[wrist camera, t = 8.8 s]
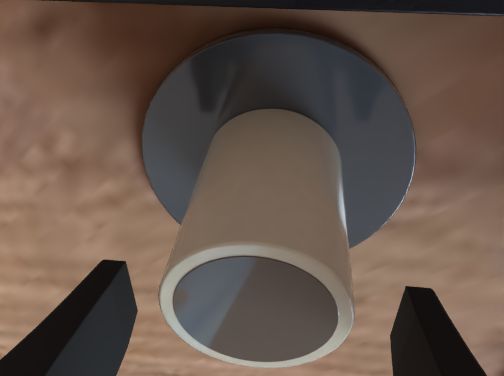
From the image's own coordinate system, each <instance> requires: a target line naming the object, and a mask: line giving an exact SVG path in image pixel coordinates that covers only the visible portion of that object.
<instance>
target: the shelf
mask: <svg viewBox="0 0 504 376" xmlns="http://www.w3.org/2000/svg"><path fill="white" fill-rule="evenodd" d="M43 1H72V2H102V3H131V4H160V5H189V6H219V7H248V8H277V9H306V10H335V11H365V12H394V13H423V14H452V15H481V16H504V0H43Z"/></svg>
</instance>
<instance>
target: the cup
mask: <svg viewBox="0 0 504 376" xmlns="http://www.w3.org/2000/svg"><path fill="white" fill-rule="evenodd" d="M158 296H159V305H160V308H161V312H162V314H163V316H164V318H165V320H166V322H167V323H168V325H169V326H170V328H171V329H172V330H173V331H174V332H175V333H176V334H177V335H178V336H179V337H180V338H181V339H182V340H184V341H185V342H186V343H188V344H189V345H191V346H192V347H194V348H195V349H197V350H199V351H201V352H203V353H205V354H207V355H209V356H211V357H214V358H216V359H219V360H222V361H225V362H229V363H232V364H237V365H242V366H249V367H258V368H281V367H290V366H296V365H301V364H305V363H308V362H311V361H314V360H317V359H319V358H321V357H323V356H325V355H327V354H328V353H330V352H332V351H333V350H335V349H336V348H337V347H338V346H339V345H340V344H341V343H342V342H343V341H344V340H345V339H346V337H347V336H348V334H349V332H350V330H351V328H352V325H353V322H354V317H355V306H354V295H353V284H352V273H351V262H350V251H349V240H348V229H347V218H346V207H345V196H344V185H343V174H342V163H341V157H340V153H339V150H338V148H337V146H336V144H335V142H334V141H333V139H332V137H331V136H330V135H329V134H328V133H327V131H326V130H324V129H323V128H322V127H321V126H320V125H319V124H317V123H316V122H314V121H313V120H311V119H310V118H308V117H306V116H304V115H301V114H299V113H296V112H293V111H288V110H283V109H258V110H253V111H249V112H246V113H243V114H241V115H238V116H236V117H235V118H233V119H231V120H229V121H228V122H227V123H225V124H224V125H223V126H222V127H221V128H220V129H219V130H218V131H217V132H216V134H215V135H214V136H213V138H212V140H211V142H210V144H209V146H208V149H207V152H206V155H205V157H204V160H203V163H202V166H201V169H200V172H199V175H198V177H197V180H196V183H195V186H194V189H193V192H192V195H191V197H190V200H189V203H188V206H187V209H186V212H185V214H184V217H183V220H182V223H181V226H180V229H179V232H178V234H177V237H176V240H175V243H174V246H173V249H172V251H171V254H170V257H169V260H168V263H167V266H166V269H165V271H164V274H163V277H162V280H161V283H160V286H159V294H158Z"/></svg>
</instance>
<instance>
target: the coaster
mask: <svg viewBox="0 0 504 376" xmlns="http://www.w3.org/2000/svg"><path fill="white" fill-rule="evenodd" d="M258 109H283V110H288V111H293V112H296V113H299V114H301V115H304V116H306V117H308V118H310V119H311V120H313V121H314V122H316V123H317V124H319V125H320V126H321V127H322V128H323V129H324V130H326V131H327V133H328V134H329V135H330V136H331V137H332V139H333V141H334V142H335V144H336V146H337V148H338V150H339V153H340V157H341V163H342V174H343V185H344V196H345V207H346V218H347V229H348V240H349V248H351V247H354V246H356V245H358V244H359V243H361V242H362V241H364V240H366V239H367V238H369V237H370V236H371V235H373V234H374V233H375V232H376V231H378V230H379V229H380V228H381V227H382V226H383V225H384V224H385V223H386V222H387V221H388V220H389V219H390V218H391V217H392V216H393V214H394V213H395V212H396V210H397V209H398V208H399V206H400V205H401V203H402V201H403V199H404V197H405V195H406V194H407V192H408V189H409V186H410V184H411V181H412V178H413V174H414V168H415V163H416V142H415V134H414V129H413V126H412V122H411V119H410V116H409V113H408V110H407V108H406V106H405V104H404V102H403V100H402V98H401V96H400V94H399V92H398V91H397V89H396V88H395V86H394V85H393V84H392V82H391V81H390V80H389V78H388V77H387V76H386V75H385V74H384V73H383V72H382V71H381V70H380V69H379V68H378V67H377V66H376V65H375V64H374V63H373V62H371V61H370V60H369V59H367V58H366V57H365V56H363V55H362V54H361V53H359V52H358V51H356V50H354V49H352V48H350V47H349V46H347V45H345V44H343V43H341V42H339V41H336V40H334V39H331V38H328V37H326V36H323V35H320V34H316V33H311V32H307V31H303V30H295V29H286V28H262V29H254V30H248V31H242V32H237V33H234V34H231V35H228V36H224V37H221V38H219V39H216V40H214V41H212V42H210V43H208V44H206V45H204V46H202V47H200V48H199V49H197V50H196V51H194V52H193V53H191V54H190V55H188V56H187V57H186V58H184V59H183V60H182V61H181V62H180V63H179V64H178V65H177V66H175V67H174V68H173V69H172V71H171V72H170V73H169V74H168V76H167V77H166V78H165V79H164V80H163V82H162V83H161V85H160V86H159V88H158V90H157V91H156V93H155V95H154V97H153V98H152V100H151V102H150V105H149V108H148V110H147V113H146V115H145V120H144V125H143V129H142V155H143V162H144V166H145V170H146V174H147V177H148V179H149V182H150V184H151V187H152V189H153V190H154V192H155V194H156V196H157V197H158V199H159V201H160V202H161V203H162V205H163V206H164V208H165V209H166V210H167V212H168V213H169V214H170V215H171V216H172V217H173V218H174V219H175V220H176V221H177V222H178V223H179V224H180V225H181V223H182V220H183V217H184V214H185V212H186V209H187V206H188V203H189V200H190V197H191V195H192V192H193V189H194V186H195V183H196V180H197V177H198V175H199V172H200V169H201V166H202V163H203V160H204V157H205V155H206V152H207V149H208V146H209V144H210V142H211V140H212V138H213V136H214V135H215V134H216V132H217V131H218V130H219V129H220V128H221V127H222V126H223V125H224V124H225V123H227V122H228V121H229V120H231V119H233V118H235V117H236V116H238V115H241V114H243V113H246V112H249V111H253V110H258Z"/></svg>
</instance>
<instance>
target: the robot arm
mask: <svg viewBox="0 0 504 376" xmlns="http://www.w3.org/2000/svg"><path fill="white" fill-rule="evenodd" d="M137 311H138V310H137V306H136V302H135V298H134V293H133V289H132V285H131V281H130V277H129V273H128V269H127V264H126V261H115V260H102V261H101V262H100V263H99V264H98V265H97V266H96V267H95V268H94V269H93V270H92V271H91V272H90V273H89V274H88V276H87V277H86V278H85V279H84V280H83V281H82V282H81V283H80V284H79V285H78V286H77V287H76V288H75V289H74V290H73V291H72V292H71V293H70V294H69V295H68V296H67V297H66V298H65V299H64V300H63V301H62V302H61V303H60V304H59V305H58V306H57V307H56V308H55V309H54V310H53V311H52V312H51V313H50V314H49V315H48V316H47V317H46V318H45V319H44V320H43V321H42V322H41V323H40V324H39V325H38V326H37V327H36V328H35V329H34V330H33V331H32V332H31V333H30V334H28V335H27V336H26V337H25V338H24V339H23V340H22V341H21V342H20V343H19V344H17V345H16V346H15V347H14V348H13V349H12V350H11V351H10V352H9V353H8V354H6V355H5V356H4V357H3V358H2V359H1V360H0V376H116V375H117V372H118V370H119V367H120V365H121V362H122V360H123V357H124V355H125V352H126V350H127V347H128V344H129V340H130V337H131V334H132V330H133V326H134V323H135V319H136V315H137ZM390 340H391V354H392V366H393V376H487V375H486V374H485V372H484V371H483V369H482V368H481V366H480V365H479V363H478V362H477V360H476V359H475V357H474V356H473V354H472V353H471V351H470V350H469V348H468V347H467V345H466V344H465V342H464V340H463V339H462V337H461V336H460V334H459V332H458V331H457V329H456V328H455V326H454V324H453V323H452V321H451V319H450V318H449V316H448V314H447V313H446V311H445V309H444V308H443V306H442V304H441V302H440V301H439V299H438V297H437V296H436V294H435V292H434V291H433V290H432V289H431V288H421V287H410V286H406V288H405V291H404V294H403V297H402V300H401V303H400V306H399V309H398V313H397V316H396V319H395V322H394V325H393V328H392V331H391V334H390Z"/></svg>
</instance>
